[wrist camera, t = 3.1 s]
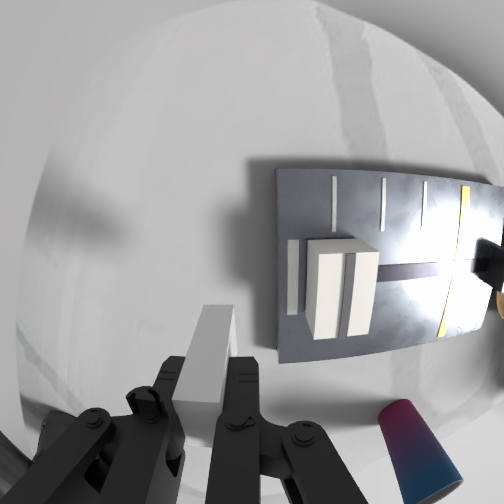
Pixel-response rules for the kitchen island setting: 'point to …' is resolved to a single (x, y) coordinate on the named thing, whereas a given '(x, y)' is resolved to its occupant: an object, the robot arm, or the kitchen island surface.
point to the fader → (340, 287)
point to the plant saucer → (500, 300)
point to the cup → (417, 455)
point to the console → (390, 255)
